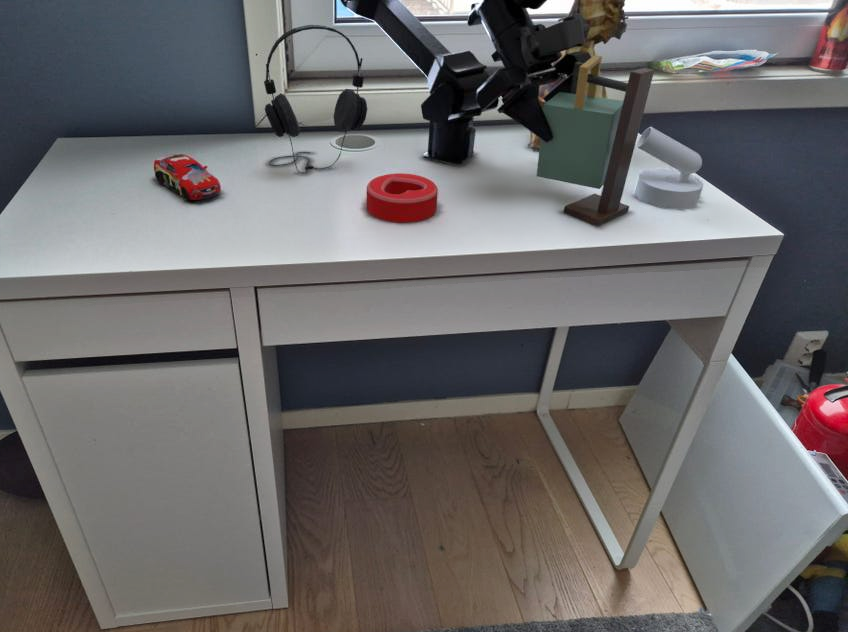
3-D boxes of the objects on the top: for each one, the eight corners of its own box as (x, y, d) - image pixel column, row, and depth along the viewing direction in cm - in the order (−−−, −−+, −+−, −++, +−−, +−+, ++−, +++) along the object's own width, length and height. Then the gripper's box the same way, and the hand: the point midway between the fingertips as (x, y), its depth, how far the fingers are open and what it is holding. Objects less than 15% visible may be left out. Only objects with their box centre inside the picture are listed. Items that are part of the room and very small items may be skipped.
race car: (227, 198, 92) (224, 170, 89) (192, 207, 89) (188, 179, 87) (184, 170, 100) (180, 144, 98) (151, 178, 97) (146, 151, 95)
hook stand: (534, 201, 92) (559, 60, 81) (565, 189, 96) (592, 52, 85) (598, 226, 86) (634, 77, 75) (627, 212, 89) (666, 68, 78)
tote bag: (536, 176, 92) (548, 62, 82) (550, 162, 95) (564, 51, 85) (599, 189, 87) (620, 71, 78) (612, 174, 91) (634, 59, 81)
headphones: (349, 148, 109) (349, 14, 97) (371, 172, 100) (373, 28, 88) (260, 157, 105) (248, 18, 93) (274, 182, 96) (263, 34, 84)
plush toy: (509, 119, 119) (546, -32, 100) (581, 120, 120) (631, -28, 101) (528, 163, 110) (574, 6, 91) (606, 164, 111) (666, 9, 92)
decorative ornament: (395, 188, 95) (396, 167, 93) (449, 206, 90) (452, 184, 88) (352, 208, 89) (351, 186, 87) (408, 229, 84) (409, 206, 83)
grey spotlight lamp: (638, 117, 93) (712, 122, 91) (621, 182, 98) (691, 188, 97) (646, 136, 86) (727, 142, 84) (628, 205, 92) (703, 211, 90)
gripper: (505, -3, 77) (564, 115, 77) (598, -16, 86) (650, 89, 86) (451, 57, 86) (504, 162, 86) (540, 39, 96) (587, 134, 96)
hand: (563, 135), depth 88 cm, fingers closed on tote bag, 6 cm apart
